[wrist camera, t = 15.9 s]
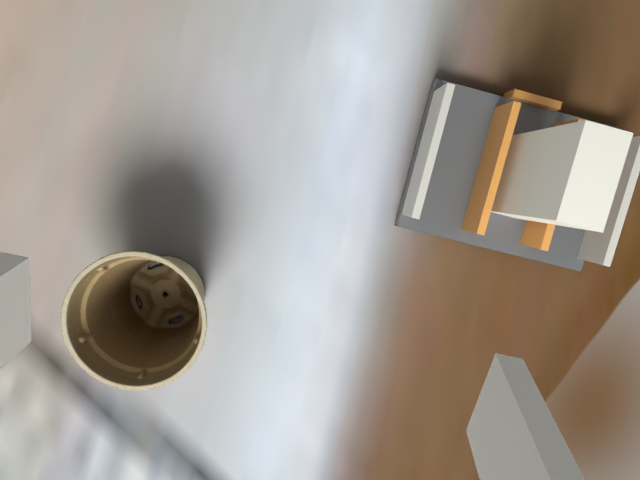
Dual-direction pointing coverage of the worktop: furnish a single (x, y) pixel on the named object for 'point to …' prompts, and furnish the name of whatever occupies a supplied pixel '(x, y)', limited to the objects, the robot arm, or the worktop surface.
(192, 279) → the flower pot
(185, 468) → the worktop surface
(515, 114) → the rack
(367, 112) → the worktop surface
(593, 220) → the panel
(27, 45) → the worktop surface
